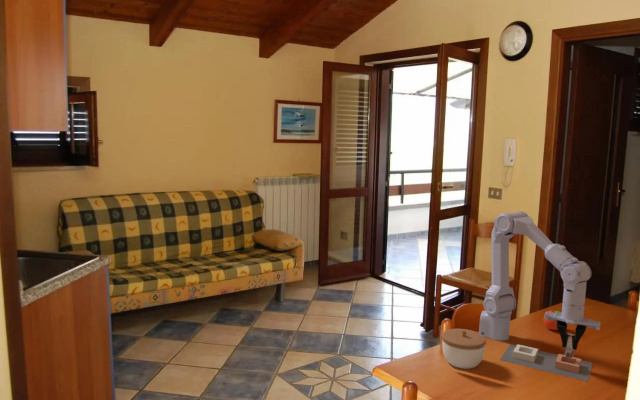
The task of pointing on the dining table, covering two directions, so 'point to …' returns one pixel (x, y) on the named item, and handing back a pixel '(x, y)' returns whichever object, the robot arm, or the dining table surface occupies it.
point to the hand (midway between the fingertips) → (569, 347)
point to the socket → (568, 363)
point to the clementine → (551, 321)
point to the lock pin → (569, 345)
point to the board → (548, 364)
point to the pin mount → (525, 353)
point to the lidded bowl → (463, 347)
